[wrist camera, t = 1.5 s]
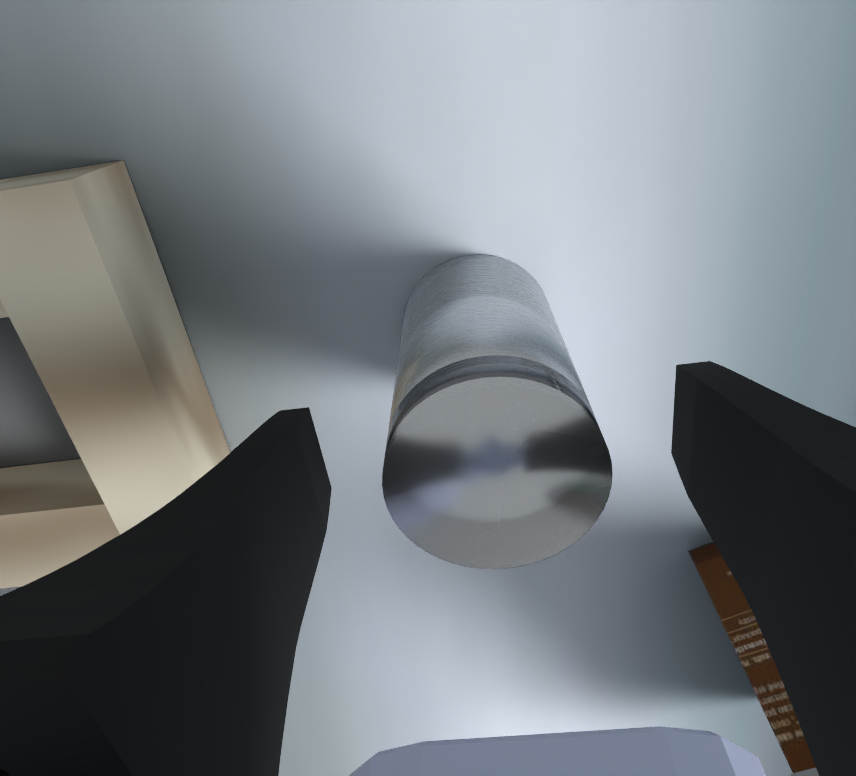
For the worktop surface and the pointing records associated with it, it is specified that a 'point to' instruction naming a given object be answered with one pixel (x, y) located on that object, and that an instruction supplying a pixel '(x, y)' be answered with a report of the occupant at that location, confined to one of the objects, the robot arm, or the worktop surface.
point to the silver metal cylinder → (490, 422)
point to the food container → (754, 656)
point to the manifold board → (96, 368)
